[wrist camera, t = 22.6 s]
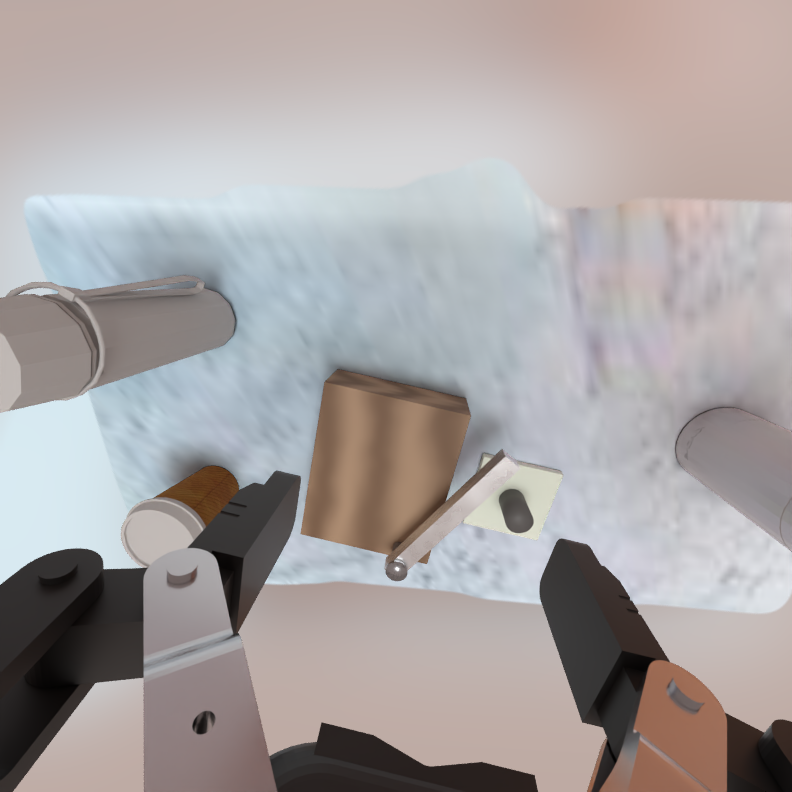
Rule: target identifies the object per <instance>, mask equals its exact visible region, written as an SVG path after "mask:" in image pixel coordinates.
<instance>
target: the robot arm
mask: <svg viewBox="0 0 792 792" xmlns="http://www.w3.org/2000/svg"><path fill="white" fill-rule="evenodd" d="M676 455H677V459H678V461H679V464H680V465H681V466H682V468H683V469H684V470H685V471H687V472H688V473H689V474H691V475H692V476H693V477H695V478H696V479H697V480H698V481H700V482H701V483H702V484H704V485H705V486H706V487H707V488H709V489H710V490H711V491H713V492H714V493H715V494H716V495H718V496H719V497H720V498H722V499H723V500H724V501H726V502H727V503H728V504H730V505H731V506H732V507H734V508H735V509H736V510H738V511H739V512H740V513H741V514H743V515H744V516H745V517H747V518H748V519H749V520H751V521H752V522H753V523H755V524H756V525H757V526H759V527H760V528H761V529H763V530H764V531H765V532H766V533H768V534H769V535H770V536H772V537H773V538H774V539H776V540H777V541H778V542H780V543H781V544H782V545H784V546H785V547H786V548H788V549H789V550H790V551H792V431H790V430H788V429H785V428H783V427H780V426H778V425H776V424H774V423H771V422H769V421H767V420H764V419H762V418H760V417H757V416H755V415H753V414H750V413H748V412H746V411H743V410H740V409H736V408H718V409H713V410H710V411H707V412H705V413H703V414H701V415H699V416H697V417H696V418H694V419H693V420H692V421H690V422H689V423H688V425H687V426H686V427H685V428H684V429H683V431H682V432H681V434H680V435H679V438H678V441H677V445H676ZM300 483H301V477H300V476H298V475H293V474H289V473H285V472H281V471H275V472H274V473H273V474H272V476H271V477H270V478H269V479H268V481H267V482H266V483H265V484H264V485H262V484H258V483H252V484H250V485H249V486H247V487H245V488H243V489H241V490H239V491H238V492H237V493H236V494H235V495H234V496H233V498H232V499H231V500H230V501H229V503H228V504H226V505H225V506H224V508H223V509H222V510H221V512H220V513H218V514H217V515H216V516H215V518H214V519H213V520H212V521H211V522H210V523H209V524H208V525H207V526H206V528H205V529H204V530H203V531H202V532H201V533H200V534H199V535H198V536H197V538H196V539H195V540H194V541H193V542H192V543H191V544H190V545H189V546H188V548H184V549H179V550H175V551H172V552H169V553H167V554H165V555H163V556H161V557H159V558H158V559H156V560H155V561H154V562H153V563H152V564H151V565H150V566H149V567H147V568H136V569H103V560H102V558H101V556H100V555H99V554H98V553H96V552H94V551H92V550H88V549H66V550H61V551H57V552H53V553H50V554H47V555H44V556H42V557H40V558H38V559H36V560H34V561H32V562H30V563H29V564H27V565H26V566H24V567H23V568H21V569H20V570H19V571H18V572H16V573H15V574H14V575H12V576H11V577H10V578H8V579H7V580H6V581H5V582H3V583H2V584H1V585H0V792H13V791H14V789H15V788H16V787H17V785H18V784H19V783H20V782H21V780H22V779H23V778H24V776H25V775H26V774H27V772H28V771H29V770H30V768H31V767H32V766H33V764H34V763H35V762H36V760H37V759H38V758H39V756H40V755H41V754H42V753H43V751H44V750H45V748H46V747H47V745H49V743H50V742H51V741H52V739H53V738H54V737H55V735H56V734H57V733H58V731H59V730H60V729H61V727H62V726H63V725H64V724H65V722H66V721H67V720H68V718H69V717H70V716H71V714H72V713H73V712H74V710H75V709H76V708H77V706H78V705H79V704H80V702H81V701H82V700H83V699H84V697H85V696H86V695H87V693H88V692H89V691H90V689H91V688H92V686H93V685H94V684H95V683H97V682H106V681H116V680H126V679H135V678H144V792H538V790H537V785H536V780H535V775H531V774H527V773H523V772H519V771H515V770H511V769H507V768H503V767H499V766H495V765H491V764H487V763H483V762H479V763H467V764H456V765H445V766H434V767H429V766H425V765H423V764H421V763H419V762H418V761H416V760H414V759H413V758H411V757H409V756H408V755H406V754H404V753H403V752H401V751H399V750H398V749H396V748H394V747H392V746H391V745H389V744H387V743H386V742H384V741H382V740H381V739H379V738H377V737H375V736H374V735H370V734H366V733H362V732H358V731H354V730H350V729H346V728H342V727H338V726H334V725H330V724H326V723H321V727H320V732H319V736H318V740H317V742H313V743H304V744H300V745H296V746H292V747H289V748H286V749H284V750H281V751H279V752H277V753H275V754H273V755H271V756H269V754H268V749H267V745H266V741H265V737H264V732H263V728H262V724H261V719H260V715H259V711H258V706H257V702H256V698H255V694H254V689H253V685H252V681H251V676H250V672H249V668H248V664H247V660H246V655H245V651H244V647H243V643H242V639H241V637H240V635H239V634H238V631H239V629H240V627H241V625H242V624H243V622H244V620H245V618H246V616H247V614H248V613H249V611H250V609H251V607H252V605H253V603H254V601H255V600H256V598H257V596H258V594H259V592H260V590H261V588H262V587H263V585H264V583H265V581H266V580H267V578H268V576H269V574H270V572H271V570H272V568H273V567H274V565H275V563H276V561H277V559H278V557H279V556H280V554H281V552H282V550H283V548H284V546H285V545H286V543H287V541H288V539H289V537H290V534H291V532H292V529H293V525H294V522H295V516H296V510H297V503H298V496H299V490H300ZM540 599H541V603H542V605H543V608H544V611H545V614H546V617H547V620H548V623H549V626H550V629H551V632H552V635H553V638H554V640H555V643H556V646H557V649H558V652H559V655H560V658H561V661H562V664H563V667H564V670H565V673H566V676H567V679H568V682H569V685H570V688H571V690H572V693H573V696H574V699H575V702H576V705H577V708H578V711H579V714H580V717H581V720H582V722H583V723H587V724H591V725H595V726H599V727H603V728H604V731H605V733H606V735H607V737H606V739H605V740H604V742H603V744H602V746H601V749H600V752H599V755H598V758H597V761H596V764H595V768H594V771H593V774H592V777H591V780H590V783H589V787H588V790H587V792H792V722H790V721H787V720H775V721H774V722H773V723H772V724H771V726H770V727H769V728H768V729H767V731H766V732H765V733H764V732H762V731H760V730H758V729H756V728H754V727H752V726H750V725H748V724H746V723H744V722H742V721H740V720H738V719H736V718H734V717H732V716H730V715H728V714H726V713H725V712H724V710H723V708H722V706H721V704H720V703H719V701H718V700H717V699H716V697H715V696H714V695H713V693H712V692H711V691H710V690H709V689H708V688H707V687H706V686H705V685H704V684H703V683H702V682H701V681H700V680H698V679H697V678H696V677H695V676H694V675H692V674H691V673H689V672H688V671H686V670H685V669H683V668H682V667H680V666H678V665H676V664H673V663H671V662H670V661H669V660H668V658H667V656H666V655H665V653H664V652H663V650H662V648H661V647H660V645H659V644H658V642H657V640H656V639H655V637H654V636H653V634H652V633H651V631H650V629H649V627H648V626H647V624H646V623H645V621H644V619H643V618H642V616H641V615H639V614H638V610H637V608H636V607H635V605H634V603H633V602H632V601H630V597H629V595H628V594H627V592H626V591H625V589H624V587H623V586H622V584H621V582H620V581H619V580H618V579H617V578H616V577H615V576H614V575H613V574H612V573H611V572H610V571H609V570H608V569H607V568H606V567H605V566H601V565H600V563H599V561H598V560H597V558H596V556H595V555H594V553H593V551H592V550H591V548H590V547H589V546H588V545H587V544H583V543H579V542H575V541H570V540H566V539H559V540H558V541H557V543H556V545H555V547H554V549H553V552H552V554H551V556H550V559H549V561H548V563H547V566H546V568H545V570H544V573H543V575H542V578H541V581H540Z"/></svg>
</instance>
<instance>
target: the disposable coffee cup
mask: <svg viewBox="0 0 792 792" xmlns="http://www.w3.org/2000/svg"><path fill="white" fill-rule="evenodd" d="M238 491H239V487H238V483H237V481H236V479H235V477H234V476H233V475H232V474H231V473H230V472H229V471H227V470H226V469H224V468H221V467H218V466H208V467H205V468H203V469H201V470H200V471H198V472H196V473H195V474H193V475H191V476H189V477H188V478H186V479H184V480H183V481H181V482H179V483H178V484H176V485H174V486H173V487H171V488H169V489H168V490H166V491H164V492H163V493H161V494H159V495H157V496H156V497H154V498H153V499H147V500H144V501H142V502H140V503H138V504H137V505H135V506H134V507H133V508H132V509H131V510H130V511H129V513H128V515H127V518H126V520H125V521H124V523H123V525H122V527H121V540H122V543H123V546H124V548H125V550H126V552H127V553H128V554H129V556H130V557H131V558H132V559H133V560H134V561H135V562H136V563H137V564H138V565H140V566H141V567H143V568H147V567H149V566H150V565H151V564H152V563H153V562H154V561H155V560H156V559H158V558H159V557H161V556H163V555H165V554H167V553H169V552H172V551H175V550H179V549H184V548H188V546H189V545H190V544H191V543H192V542H193V541H194V540H195V539H196V538H197V536H198V535H199V534H200V533H201V532H202V531H203V530H204V529H205V528H206V526H207V525H208V524H209V523H210V522H211V521H212V520H213V519H214V518H215V516H216V515H217V514H218V513H220V512H221V510H222V509H223V508H224V506H225V505H226V504H228V503H229V501H230V500H231V499H232V498H233V496H234V495H235V494H236V493H237V492H238Z"/></svg>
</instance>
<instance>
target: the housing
mask: <svg viewBox="0 0 792 792" xmlns="http://www.w3.org/2000/svg"><path fill="white" fill-rule="evenodd" d="M470 417H471V414H470V411H469V407H468V404H467V401H466V398H462V397H457V396H453V395H449V394H444V393H440V392H436V391H431V390H427V389H423V388H418V387H414V386H410V385H405V384H401V383H396V382H392V381H388V380H383V379H379V378H375V377H370V376H366V375H362V374H357V373H353V372H349V371H344V370H340V369H337V370H336V371H335V372H334V373H333V374H332V375H331V376H330V377H329V378H328V379H327V380H326V381H325V382H324V389H323V395H322V401H321V408H320V414H319V420H318V427H317V433H316V439H315V446H314V452H313V459H312V465H311V471H310V478H309V484H308V490H307V497H306V503H305V509H304V516H303V522H302V528H301V534H303V535H307V536H311V537H316V538H320V539H324V540H328V541H332V542H336V543H341V544H345V545H349V546H353V547H357V548H362V549H366V550H370V551H374V552H378V553H383V554H387V555H390V554H391V553H392V552H393V551H394V550H395V549H396V548H397V547H398V546H399V545H400V544H401V543H402V542H404V541H405V540H406V539H407V538H408V537H409V536H410V535H411V534H412V533H413V532H414V531H415V530H416V529H417V528H418V527H419V526H421V525H422V524H423V523H424V522H425V521H426V520H427V519H428V518H429V517H430V516H431V515H432V514H433V513H434V512H435V511H437V510H438V509H439V508H440V507H441V506H442V505H443V504H444V503H445V502H446V498H447V495H448V491H449V488H450V485H451V481H452V478H453V475H454V471H455V468H456V465H457V461H458V458H459V454H460V451H461V448H462V444H463V441H464V438H465V434H466V431H467V427H468V424H469V421H470ZM430 552H431V550H430V551H429V552H428V553H426V554H425V555H424V556H423V557H422V558H421V559H420V560H419V561H418V562H420V563H424V564H427V562H428V559H429V556H430Z"/></svg>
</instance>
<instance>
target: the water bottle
mask: <svg viewBox="0 0 792 792" xmlns="http://www.w3.org/2000/svg"><path fill="white" fill-rule="evenodd" d="M187 281H197V285H196V286H195V287H194V288H184V289H162V290H140V291H130V290H136V289H142V288H149V287H155V286H161V285H168V284H174V283H180V282H187ZM204 284H205V282H203V281H202V280H200V279H199V278H196V277H194V276H186V275H184V276H177V277H171V278H164V279H157V280H151V281H144V282H137V283H131V284H124V285H117V286H111V287H104V288H97V289H91V290H84V291H82V290H80V289H76V288H70V287H64V286H58V285H56V284H54V283H52V282H31V283H28V284H26V285H23V286H21V287H18V288H16V289H14V290H11V291H10V292H9V293H8V295H7V296H6V297H3V298H0V413H1V412H5V411H10V410H15V409H19V408H24V407H28V406H32V405H37V404H41V403H46V402H50V401H54V400H69V399H72V398H75V397H78V396H80V395H83V394H84V393H85V392H87V391H88V390H89V389H93V388H96V387H99V386H102V385H105V384H108V383H111V382H114V381H117V380H120V379H123V378H126V377H129V376H132V375H135V374H138V373H141V372H144V371H147V370H150V369H153V368H156V367H159V366H163V365H166V364H169V363H172V362H175V361H178V360H181V359H184V358H187V357H190V356H193V355H196V354H199V353H202V352H205V351H208V350H211V349H214V348H217V347H220V346H223V345H224V344H225V343H226V342H227V341H228V340H229V339H230V338H231V337H232V336H233V331H234V325H235V318H234V315H233V312H232V309H231V306H230V304H229V303H228V302H227V301H226V300H225V299H224V298H223V297H222V296H221V295H220V294H219V293H218V292H215V291H212V290H208V289H205V288H204ZM33 288H50V289H54V290H57V291H59V292H58V294H50V295H43V296H38V295H35V294H29V295H28V294H24V295H18V294H20V293H21V292H24V291H26V290H29V289H33ZM16 295H17V296H16Z"/></svg>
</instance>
